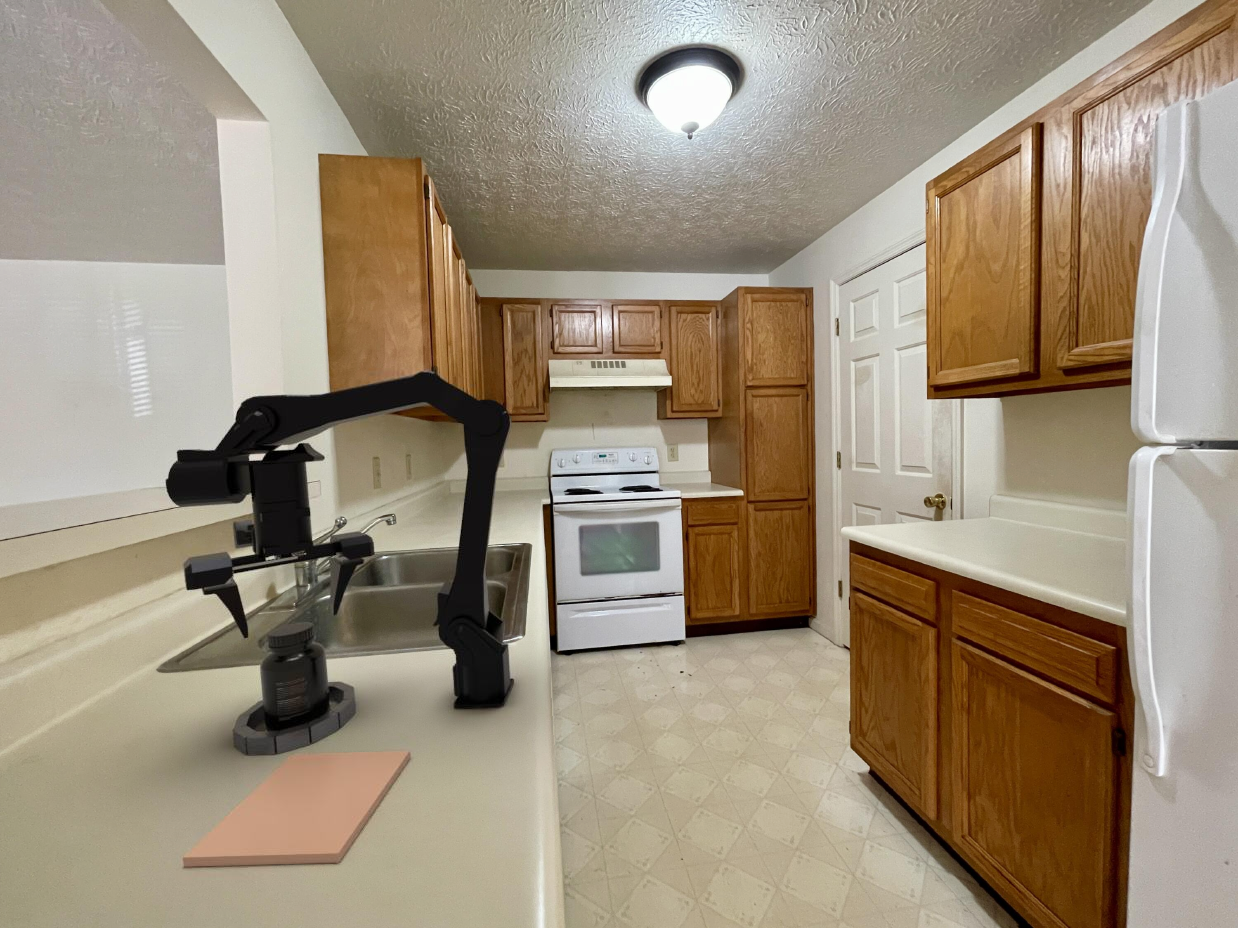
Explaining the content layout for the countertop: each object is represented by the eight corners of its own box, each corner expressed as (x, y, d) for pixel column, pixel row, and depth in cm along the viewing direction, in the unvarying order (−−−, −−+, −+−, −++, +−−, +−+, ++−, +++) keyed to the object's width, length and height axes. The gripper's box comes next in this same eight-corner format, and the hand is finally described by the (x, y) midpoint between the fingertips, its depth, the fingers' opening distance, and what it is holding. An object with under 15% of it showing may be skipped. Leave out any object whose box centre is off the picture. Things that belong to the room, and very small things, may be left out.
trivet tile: (410, 757, 52) (409, 750, 52) (339, 862, 39) (338, 853, 39) (292, 761, 53) (292, 754, 53) (183, 866, 40) (182, 857, 40)
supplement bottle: (342, 707, 63) (336, 618, 63) (304, 740, 57) (296, 640, 56) (294, 707, 64) (287, 618, 63) (250, 739, 57) (242, 640, 57)
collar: (373, 694, 66) (372, 680, 66) (315, 753, 54) (314, 735, 54) (285, 697, 67) (284, 683, 67) (207, 756, 54) (205, 739, 54)
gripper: (347, 489, 71) (355, 593, 72) (176, 506, 58) (189, 632, 59) (371, 493, 63) (380, 609, 64) (179, 513, 50) (193, 659, 51)
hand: (292, 625), depth 60 cm, fingers open, 9 cm apart
